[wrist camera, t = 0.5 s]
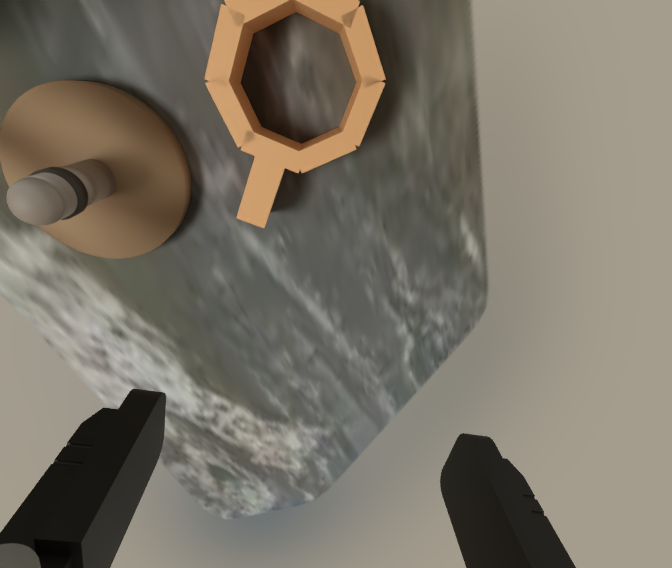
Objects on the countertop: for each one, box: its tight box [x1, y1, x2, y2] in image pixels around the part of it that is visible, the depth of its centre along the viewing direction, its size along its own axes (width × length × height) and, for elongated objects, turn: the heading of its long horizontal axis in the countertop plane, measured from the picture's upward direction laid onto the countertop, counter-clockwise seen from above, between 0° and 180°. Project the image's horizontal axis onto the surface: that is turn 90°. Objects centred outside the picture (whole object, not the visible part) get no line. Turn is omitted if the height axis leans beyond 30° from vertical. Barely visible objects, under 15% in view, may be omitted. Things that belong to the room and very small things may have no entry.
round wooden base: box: [0, 80, 192, 258], centre depth 21 cm, size 11×11×8 cm
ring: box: [205, 0, 386, 228], centre depth 22 cm, size 13×9×4 cm
